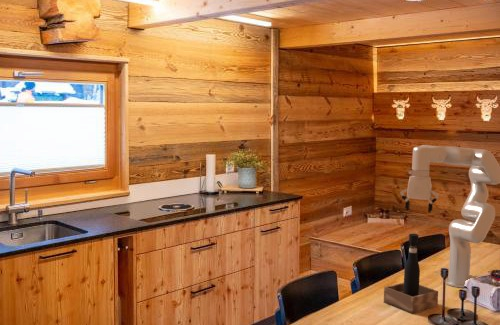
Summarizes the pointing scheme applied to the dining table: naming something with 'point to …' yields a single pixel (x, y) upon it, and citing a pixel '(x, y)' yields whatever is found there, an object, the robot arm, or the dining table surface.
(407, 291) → the wine bottle
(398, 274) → the dining table surface
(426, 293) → the crate
